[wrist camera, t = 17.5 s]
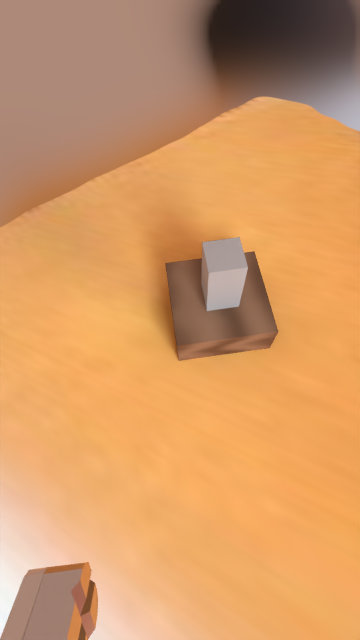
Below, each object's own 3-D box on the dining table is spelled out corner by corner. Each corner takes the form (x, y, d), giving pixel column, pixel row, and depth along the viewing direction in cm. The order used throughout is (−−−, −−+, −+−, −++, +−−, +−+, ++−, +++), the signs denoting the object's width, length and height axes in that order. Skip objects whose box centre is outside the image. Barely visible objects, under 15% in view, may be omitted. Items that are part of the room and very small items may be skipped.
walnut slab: (178, 360, 42) (176, 345, 38) (168, 284, 48) (165, 263, 43) (269, 347, 42) (278, 331, 38) (248, 273, 48) (254, 251, 43)
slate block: (206, 311, 40) (208, 272, 33) (201, 283, 41) (202, 242, 34) (238, 306, 40) (248, 267, 33) (232, 279, 42) (239, 237, 34)
